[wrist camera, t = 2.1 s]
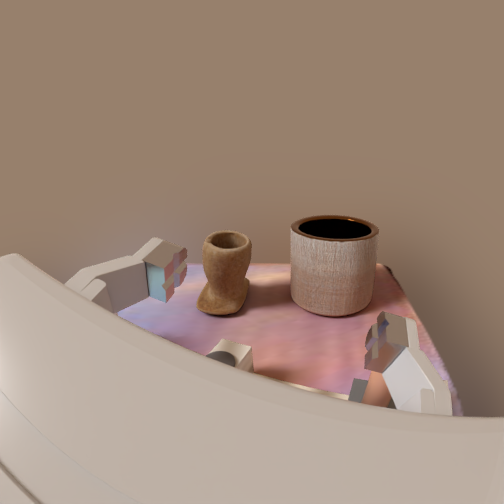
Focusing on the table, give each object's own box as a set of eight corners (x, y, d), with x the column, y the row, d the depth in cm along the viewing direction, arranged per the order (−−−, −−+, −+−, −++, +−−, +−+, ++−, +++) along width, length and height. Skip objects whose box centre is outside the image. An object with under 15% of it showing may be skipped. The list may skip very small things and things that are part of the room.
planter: (363, 277, 64) (368, 215, 58) (378, 319, 48) (391, 241, 42) (292, 277, 67) (291, 214, 62) (287, 319, 51) (287, 240, 46)
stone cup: (249, 321, 52) (243, 246, 46) (191, 317, 54) (178, 246, 48) (261, 283, 65) (258, 221, 60) (213, 282, 68) (205, 222, 62)
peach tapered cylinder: (392, 406, 27) (427, 314, 22) (384, 452, 21) (432, 365, 16) (347, 399, 30) (369, 307, 24) (333, 444, 24) (359, 355, 19)
